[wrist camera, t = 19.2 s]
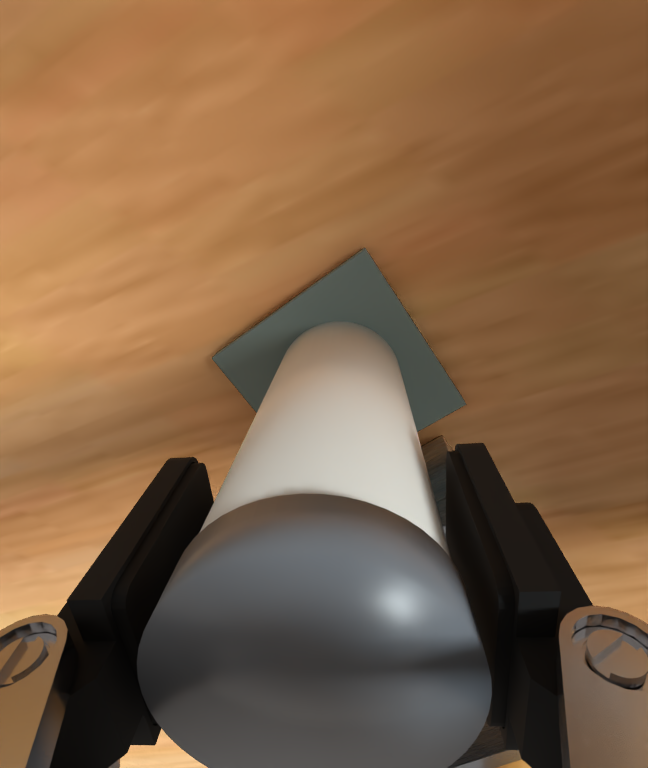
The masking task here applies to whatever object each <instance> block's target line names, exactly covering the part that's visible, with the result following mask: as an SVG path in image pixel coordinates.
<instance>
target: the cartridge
mask: <svg viewBox="0 0 648 768" xmlns="http://www.w3.org/2000/svg"><path fill="white" fill-rule="evenodd" d="M137 673H138V681H139V685H140V689H141V693H142V695H143V698H144V700H145V702H146V704H147V707H148V709H149V711H150V712H151V714H152V715H153V717H154V719H155V720H156V722H157V723H158V724H159V726H160V727H161V728H162V729H163V730H164V732H165V733H166V734H167V735H168V736H169V737H170V738H171V739H172V740H173V741H174V742H175V743H176V744H177V745H178V746H179V747H180V748H181V749H182V750H184V751H185V752H186V753H188V754H189V755H190V756H192V757H193V758H194V759H196V760H197V761H199V762H200V763H202V764H204V765H205V766H207V767H208V768H447V767H449V766H450V765H452V764H453V763H454V762H455V761H456V760H457V759H459V758H460V757H461V756H462V755H463V754H464V753H465V752H466V751H467V750H468V749H469V747H470V746H471V745H472V744H473V743H474V741H475V740H476V739H477V737H478V735H479V733H480V732H481V730H482V728H483V727H484V724H485V721H486V719H487V716H488V713H489V710H490V704H491V698H492V683H491V675H490V670H489V666H488V662H487V658H486V655H485V651H484V648H483V645H482V641H481V638H480V634H479V631H478V627H477V624H476V620H475V617H474V613H473V610H472V606H471V603H470V600H469V596H468V593H467V589H466V586H465V584H464V581H463V579H462V577H461V574H460V572H459V570H458V569H457V567H456V566H455V564H454V563H453V561H452V559H451V556H450V552H449V549H448V545H447V541H446V537H445V534H444V530H443V526H442V523H441V519H440V515H439V512H438V508H437V504H436V501H435V497H434V493H433V489H432V486H431V482H430V478H429V475H428V471H427V467H426V464H425V460H424V456H423V453H422V449H421V445H420V441H419V438H418V434H417V430H416V427H415V423H414V419H413V416H412V412H411V408H410V405H409V401H408V397H407V393H406V390H405V386H404V382H403V379H402V375H401V371H400V368H399V364H398V361H397V358H396V356H395V354H394V352H393V350H392V349H391V347H390V346H389V345H388V343H387V342H386V341H385V340H384V339H383V338H382V337H381V336H380V335H378V334H377V333H376V332H374V331H373V330H371V329H369V328H367V327H365V326H362V325H360V324H356V323H352V322H344V321H334V322H327V323H323V324H320V325H317V326H314V327H312V328H310V329H308V330H307V331H305V332H304V333H302V334H301V335H300V336H298V337H297V338H296V339H295V340H294V342H293V343H292V344H291V345H290V347H289V348H288V350H287V352H286V353H285V355H284V357H283V359H282V362H281V364H280V366H279V368H278V370H277V372H276V374H275V376H274V378H273V380H272V382H271V384H270V387H269V389H268V391H267V393H266V395H265V397H264V399H263V401H262V403H261V405H260V407H259V409H258V412H257V414H256V416H255V418H254V420H253V422H252V424H251V426H250V428H249V430H248V432H247V435H246V437H245V439H244V441H243V443H242V445H241V447H240V449H239V451H238V453H237V455H236V457H235V460H234V462H233V464H232V466H231V468H230V470H229V472H228V474H227V476H226V478H225V480H224V482H223V485H222V487H221V489H220V491H219V493H218V495H217V497H216V499H215V501H214V503H213V505H212V507H211V510H210V512H209V514H208V516H207V518H206V520H205V522H204V524H203V526H202V528H201V530H200V532H199V534H198V535H197V536H196V537H195V538H194V539H193V540H192V541H191V543H190V544H189V545H188V547H187V548H186V549H185V550H184V552H183V554H182V556H181V558H180V560H179V562H178V563H177V565H176V567H175V569H174V571H173V573H172V575H171V577H170V579H169V581H168V583H167V585H166V587H165V589H164V591H163V593H162V595H161V597H160V599H159V601H158V603H157V605H156V607H155V609H154V611H153V613H152V615H151V617H150V619H149V621H148V623H147V625H146V627H145V629H144V631H143V635H142V638H141V641H140V644H139V648H138V656H137Z"/></svg>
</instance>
